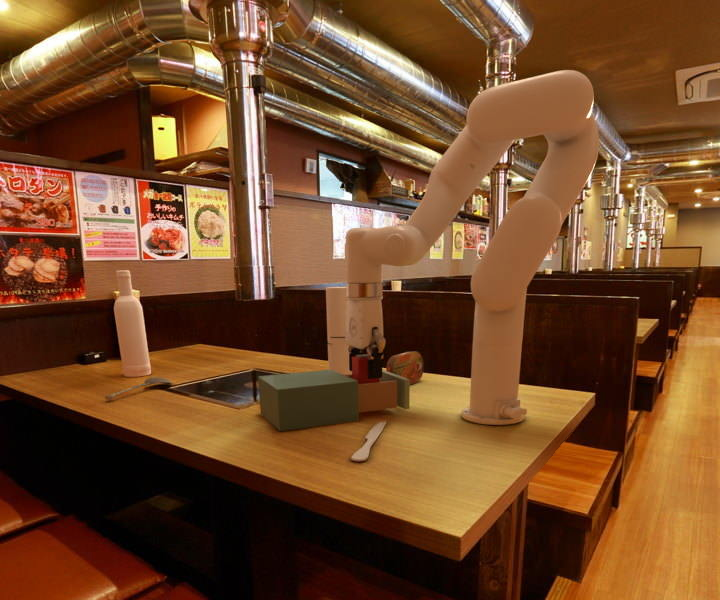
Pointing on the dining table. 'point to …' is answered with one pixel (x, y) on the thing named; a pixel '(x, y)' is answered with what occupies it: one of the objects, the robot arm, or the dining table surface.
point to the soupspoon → (147, 382)
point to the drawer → (384, 393)
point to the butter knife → (368, 442)
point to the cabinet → (308, 399)
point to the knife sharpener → (361, 370)
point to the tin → (407, 366)
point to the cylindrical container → (337, 330)
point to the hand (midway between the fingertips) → (365, 374)
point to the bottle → (131, 329)
